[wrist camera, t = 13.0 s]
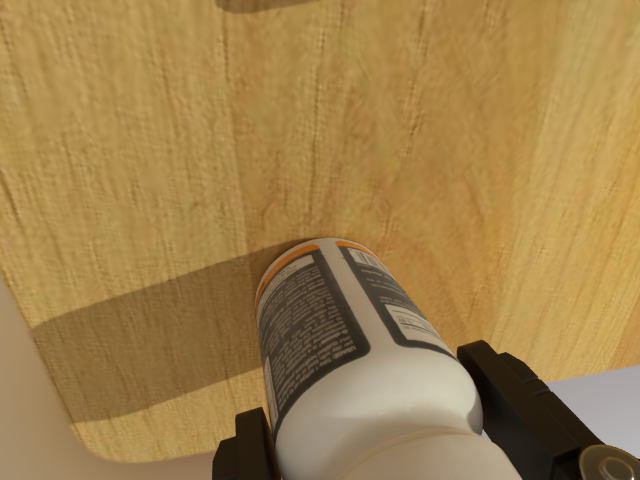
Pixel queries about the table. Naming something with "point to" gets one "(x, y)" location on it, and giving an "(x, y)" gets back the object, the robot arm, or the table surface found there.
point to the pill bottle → (363, 376)
